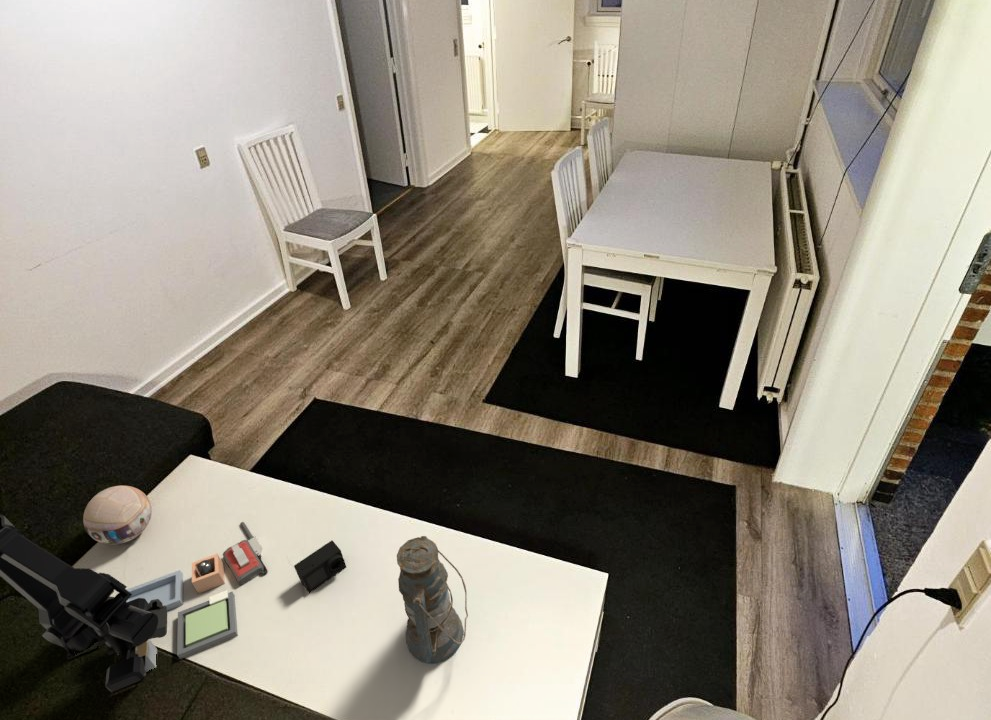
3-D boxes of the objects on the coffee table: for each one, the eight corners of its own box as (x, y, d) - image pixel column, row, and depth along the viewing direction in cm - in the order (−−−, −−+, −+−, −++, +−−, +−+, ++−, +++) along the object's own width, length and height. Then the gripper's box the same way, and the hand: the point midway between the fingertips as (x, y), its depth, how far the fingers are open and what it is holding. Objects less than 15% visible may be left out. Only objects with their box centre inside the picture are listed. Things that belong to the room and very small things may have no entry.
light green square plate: (187, 646, 125) (185, 644, 124) (187, 617, 130) (185, 615, 130) (228, 630, 127) (226, 628, 127) (226, 602, 133) (225, 600, 133)
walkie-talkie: (277, 570, 141) (247, 523, 154) (272, 560, 139) (242, 512, 152) (242, 592, 137) (214, 542, 150) (236, 582, 134) (208, 531, 147)
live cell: (134, 678, 121) (121, 663, 117) (136, 659, 125) (123, 644, 121) (157, 669, 123) (145, 654, 119) (158, 650, 126) (146, 635, 122)
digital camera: (311, 597, 135) (304, 580, 131) (300, 583, 138) (293, 565, 134) (349, 570, 140) (343, 552, 136) (338, 557, 143) (332, 539, 139)
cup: (199, 594, 137) (191, 582, 134) (198, 575, 141) (191, 563, 138) (225, 584, 139) (218, 572, 136) (224, 565, 143) (217, 553, 140)
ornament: (96, 529, 155) (69, 492, 146) (155, 502, 162) (132, 465, 153) (103, 566, 145) (74, 529, 136) (165, 536, 152) (142, 498, 143)
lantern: (410, 595, 133) (390, 511, 116) (471, 592, 133) (459, 508, 116) (401, 681, 118) (375, 598, 100) (469, 678, 117) (456, 595, 100)
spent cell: (205, 585, 138) (196, 570, 135) (205, 576, 140) (196, 561, 137) (217, 580, 139) (209, 566, 136) (217, 571, 141) (208, 557, 138)
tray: (123, 629, 130) (118, 623, 129) (126, 597, 137) (121, 591, 136) (183, 606, 134) (179, 600, 133) (183, 575, 141) (180, 569, 140)
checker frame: (181, 660, 124) (176, 654, 122) (181, 615, 132) (177, 609, 131) (238, 636, 127) (234, 630, 126) (235, 594, 136) (231, 588, 135)
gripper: (154, 646, 109) (184, 685, 118) (158, 570, 123) (184, 610, 132) (89, 672, 106) (125, 710, 115) (100, 591, 120) (132, 630, 129)
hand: (144, 661), depth 123 cm, fingers open, 6 cm apart
